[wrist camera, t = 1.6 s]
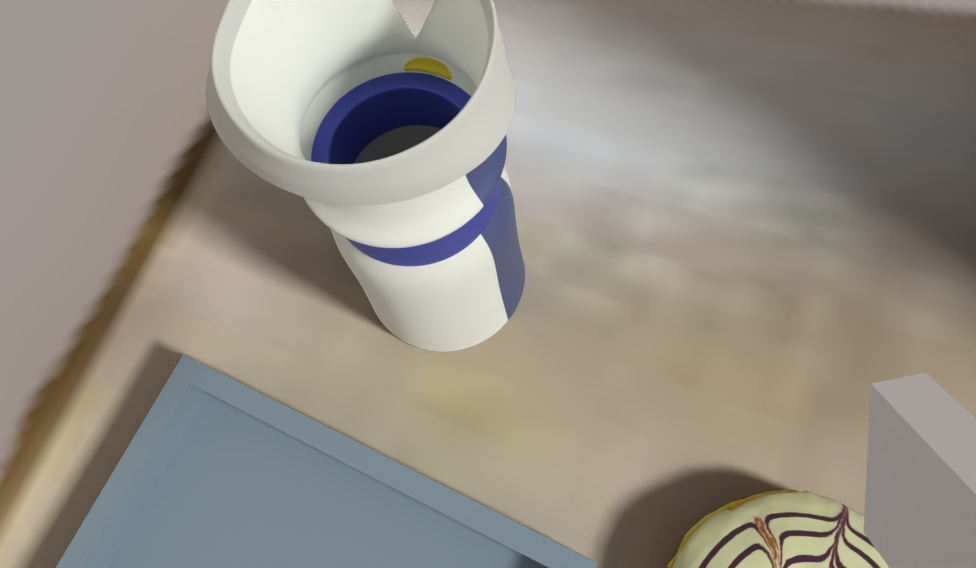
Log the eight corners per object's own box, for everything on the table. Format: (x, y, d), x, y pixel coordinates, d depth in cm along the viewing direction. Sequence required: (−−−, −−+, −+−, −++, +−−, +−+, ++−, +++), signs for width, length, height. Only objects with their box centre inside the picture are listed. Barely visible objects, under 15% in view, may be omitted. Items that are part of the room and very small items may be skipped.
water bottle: (383, 175, 40) (159, -339, 17) (548, 213, 39) (559, -282, 15) (331, 327, 38) (-13, -13, 14) (504, 373, 37) (439, 84, 13)
